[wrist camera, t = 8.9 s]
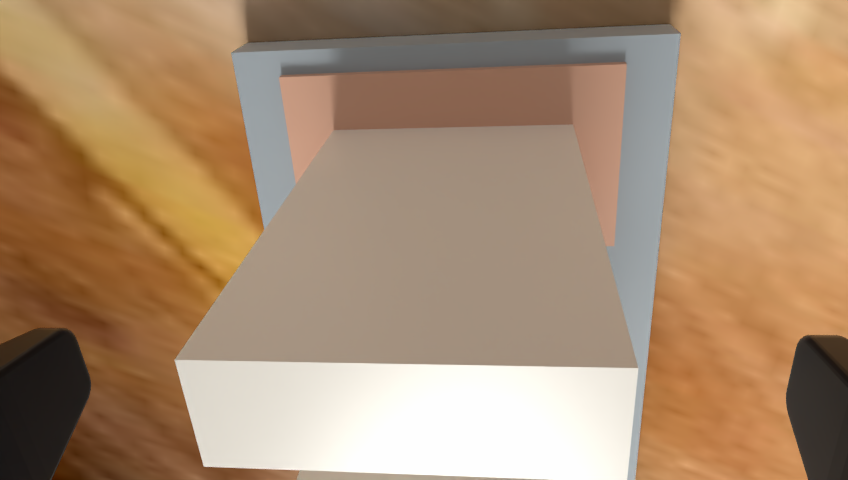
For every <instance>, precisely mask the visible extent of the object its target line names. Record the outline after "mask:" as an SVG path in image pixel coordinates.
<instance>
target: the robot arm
mask: <svg viewBox="0 0 848 480" xmlns="http://www.w3.org/2000/svg"><path fill="white" fill-rule="evenodd" d="M90 390H91V380H90V376H89V373H88V370H87V367H86V364H85V361H84V358H83V356H82V353H81V350H80V347H79V344H78V342H77V339H76V337H75V335H74V334H73V333H72V332H71V331H70V330H68V329H66V328H38V329H34V330H32V331H29V332H27V333H25V334H23V335H20V336H18V337H16V338H14V339H11V340H9V341H7V342H5V343H3V344H0V480H51V479H52V477H53V475H54V473H55V471H56V468H57V466H58V464H59V462H60V460H61V457H62V455H63V453H64V451H65V449H66V446H67V444H68V442H69V440H70V438H71V435H72V433H73V431H74V429H75V427H76V424H77V422H78V420H79V418H80V416H81V413H82V411H83V409H84V407H85V405H86V402H87V400H88V398H89V394H90ZM786 405H787V411H788V415H789V418H790V421H791V425H792V428H793V431H794V435H795V438H796V441H797V444H798V448H799V451H800V454H801V458H802V461H803V464H804V467H805V471H806V474H807V477H808V480H848V339H846V338H844V337H842V336H838V335H806V336H804V337H803V338H801V339H800V341H799V342H798V344H797V347H796V351H795V356H794V360H793V365H792V369H791V374H790V378H789V383H788V387H787V392H786Z"/></svg>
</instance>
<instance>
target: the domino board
mask: <svg viewBox="0 0 848 480" xmlns="http://www.w3.org/2000/svg"><path fill="white" fill-rule="evenodd" d="M680 36H681V33H680V32H678V31H677V30H676V29H675V28H674V27H673V26H672V25H671V24H658V25H636V26H613V27H591V28H568V29H546V30H523V31H501V32H478V33H456V34H433V35H411V36H388V37H366V38H343V39H321V40H298V41H276V42H253V43H246V44H244V45H243V46H241V47H240V48H238V49H236V50H235V51H233V52H232V53H231V54H232V59H233V65H234V70H235V75H236V81H237V86H238V91H239V97H240V102H241V107H242V113H243V118H244V123H245V129H246V134H247V139H248V145H249V150H250V155H251V161H252V166H253V171H254V177H255V182H256V187H257V193H258V198H259V204H260V209H261V214H262V220H263V225H264V230H265V228H266V227H267V226H268V224H269V223H270V221H271V220H272V218H273V217H274V215H275V214H276V213H277V211H278V210H279V208H280V207H281V205H282V204H283V202H284V201H285V199H286V198H287V197H288V195H289V194H290V192H291V191H292V189H293V188H294V186H295V185H296V184H297V182H298V181H299V179H300V178H301V176H302V175H303V173H304V172H305V171H306V169H307V168H308V166H309V165H310V163H311V162H312V160H313V159H314V158H315V156H316V155H317V153H318V152H319V150H320V149H321V147H322V146H323V145H324V143H325V142H326V140H327V139H328V137H329V136H330V134H331V133H332V132H333V130H357V129H400V128H442V127H484V126H526V125H569V124H573V126H574V130H575V133H576V137H577V141H578V145H579V148H580V152H581V156H582V160H583V163H584V167H585V171H586V174H587V178H588V182H589V186H590V189H591V193H592V197H593V201H594V204H595V208H596V212H597V215H598V219H599V223H600V227H601V230H602V234H603V238H604V242H605V245H606V249H607V253H608V256H609V260H610V264H611V268H612V271H613V275H614V279H615V283H616V286H617V290H618V294H619V298H620V301H621V305H622V309H623V312H624V316H625V320H626V324H627V327H628V331H629V335H630V339H631V342H632V346H633V350H634V353H635V357H636V361H637V365H638V378H637V387H636V397H635V407H634V417H633V427H632V437H631V447H630V457H629V467H628V477H627V480H635V476H636V467H637V457H638V447H639V437H640V427H641V418H642V408H643V398H644V388H645V378H646V369H647V359H648V349H649V339H650V329H651V320H652V310H653V300H654V290H655V281H656V271H657V261H658V251H659V241H660V232H661V222H662V212H663V202H664V192H665V183H666V173H667V163H668V153H669V143H670V134H671V124H672V114H673V104H674V95H675V85H676V75H677V65H678V55H679V46H680Z"/></svg>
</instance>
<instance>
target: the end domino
mask: <svg viewBox="0 0 848 480" xmlns="http://www.w3.org/2000/svg"><path fill="white" fill-rule="evenodd" d="M175 363H176V367H177V371H178V374H179V378H180V382H181V385H182V389H183V393H184V396H185V400H186V404H187V407H188V411H189V414H190V418H191V422H192V425H193V429H194V433H195V436H196V440H197V444H198V447H199V451H200V455H201V458H202V462H203V465H204V467H227V468H254V469H281V470H308V471H335V472H361V473H388V474H415V475H442V476H469V477H496V478H523V479H550V480H627V477H628V467H629V457H630V447H631V437H632V427H633V417H634V407H635V397H636V387H637V378H638V365H637V361H636V357H635V353H634V350H633V346H632V342H631V339H630V335H629V331H628V327H627V324H626V320H625V316H624V312H623V309H622V305H621V301H620V298H619V294H618V290H617V286H616V283H615V279H614V275H613V271H612V268H611V264H610V260H609V256H608V253H607V249H606V245H605V242H604V238H603V234H602V230H601V227H600V223H599V219H598V215H597V212H596V208H595V204H594V201H593V197H592V193H591V189H590V186H589V182H588V178H587V174H586V171H585V167H584V163H583V160H582V156H581V152H580V148H579V145H578V141H577V137H576V133H575V130H574V126H573V124H569V125H526V126H484V127H442V128H400V129H357V130H333V132H332V133H331V134H330V136H329V137H328V139H327V140H326V142H325V143H324V145H323V146H322V147H321V149H320V150H319V152H318V153H317V155H316V156H315V158H314V159H313V160H312V162H311V163H310V165H309V166H308V168H307V169H306V171H305V172H304V173H303V175H302V176H301V178H300V179H299V181H298V182H297V184H296V185H295V186H294V188H293V189H292V191H291V192H290V194H289V195H288V197H287V198H286V199H285V201H284V202H283V204H282V205H281V207H280V208H279V210H278V211H277V213H276V214H275V215H274V217H273V218H272V220H271V221H270V223H269V224H268V226H267V227H266V228H265V230H264V231H263V233H262V234H261V236H260V237H259V239H258V240H257V241H256V243H255V244H254V246H253V247H252V249H251V250H250V252H249V253H248V254H247V256H246V257H245V259H244V260H243V262H242V263H241V265H240V266H239V267H238V269H237V270H236V272H235V273H234V275H233V276H232V278H231V279H230V280H229V282H228V283H227V285H226V286H225V288H224V289H223V291H222V292H221V293H220V295H219V296H218V298H217V299H216V301H215V302H214V304H213V305H212V306H211V308H210V309H209V311H208V312H207V314H206V315H205V317H204V318H203V320H202V321H201V322H200V324H199V325H198V327H197V328H196V330H195V331H194V333H193V334H192V335H191V337H190V338H189V340H188V341H187V343H186V344H185V346H184V347H183V348H182V350H181V351H180V353H179V354H178V356H177V357H176V359H175Z"/></svg>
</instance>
